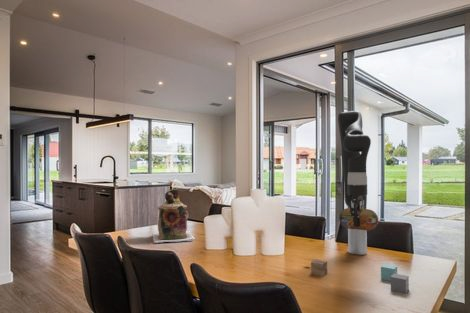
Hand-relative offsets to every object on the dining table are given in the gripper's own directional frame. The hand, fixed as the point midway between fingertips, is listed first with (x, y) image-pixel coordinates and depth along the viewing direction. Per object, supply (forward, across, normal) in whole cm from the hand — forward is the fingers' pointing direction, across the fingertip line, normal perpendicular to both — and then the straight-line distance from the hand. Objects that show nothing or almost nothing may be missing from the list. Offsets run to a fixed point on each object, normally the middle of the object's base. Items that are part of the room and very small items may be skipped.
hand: (357, 225), depth 134 cm
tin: (+1, 0, 0) cm, 1 cm away
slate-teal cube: (+21, -7, +10) cm, 24 cm away
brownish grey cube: (+21, +4, -15) cm, 26 cm away
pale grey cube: (+21, +4, +16) cm, 27 cm away
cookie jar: (+21, -4, -116) cm, 118 cm away
